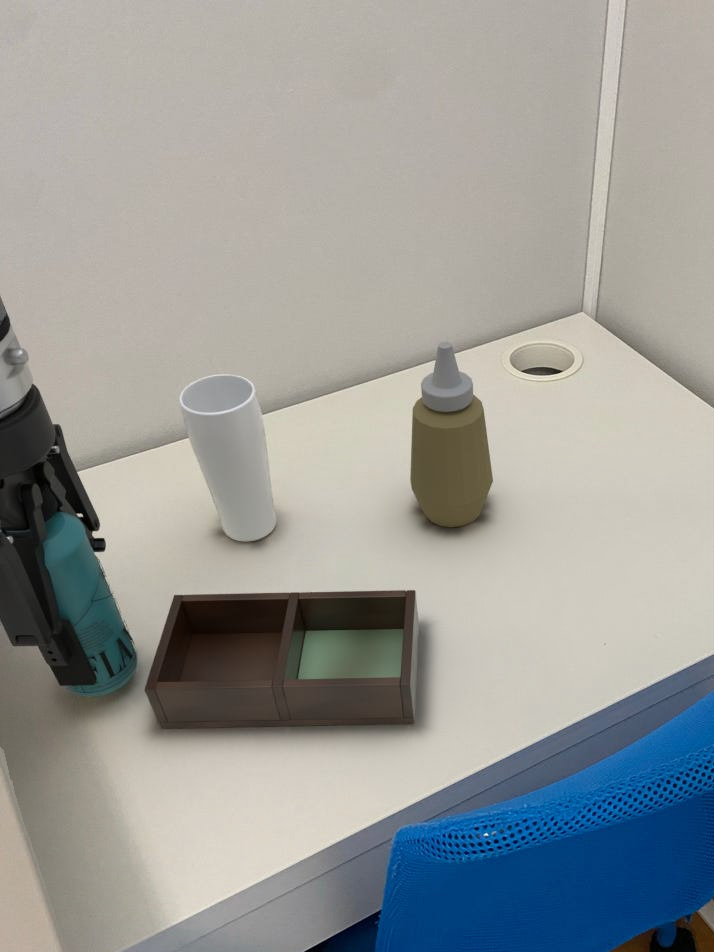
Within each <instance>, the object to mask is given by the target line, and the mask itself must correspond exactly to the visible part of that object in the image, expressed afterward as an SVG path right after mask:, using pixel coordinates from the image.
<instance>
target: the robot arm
mask: <svg viewBox="0 0 714 952" xmlns="http://www.w3.org/2000/svg"><path fill="white" fill-rule="evenodd" d="M29 358H30V357H29V353H28V352H27V350H26V349H25V348H22V347H21V345H20V342H19V339H18V337H17V334H16V332H15V330H14V328H13V325H12V323H11V319H10V316H9V313H8V312H7V310H6V306H5V304H4V302H3V299H2V297H1V295H0V623H1V625H2V627H3V629H4V631H5V633H6V636H7V638H8V640H9V642H10V644H11V646H12V647H37V648H38V651H39V652H40V654H41V656H42V658H43V659H44V662H45V663H46V664H47V665H48V666H49V667H50V670H51V672H52V673H53V676H54V677H55V679H56V682H57V683H58V685H59V686H60V687H66V686H78V685H95V682H96V679H97V677H96V675H95V673H94V671H93V669H92V666H91V664H90V662H89V660H88V658H87V656H86V654H85V652H84V650H83V647H82V645H81V643H80V641H79V639H78V637H77V635H76V633H75V630H74V628H73V626H72V624H71V622H70V620H61V616H60V612H59V608H58V604H57V600H56V596H55V592H54V588H53V584H52V580H51V576H50V573H49V571H48V569H47V568H46V566H45V552H44V548H43V542H45V541H46V540H47V538H48V536H47V531H46V527H45V523H44V519H43V515H42V511H41V505H42V503H43V501H42V496H41V492H40V488H39V486H38V485H37V482H38V481H39V482H44V483H46V484H47V486H48V487H49V489H50V491H51V493H52V494H53V495H54V497H55V499H56V501H57V505H58V507H57V510H56V511H59V512H63V513H68V514H70V515H73V516H74V517H76V518H77V519H79V520H80V521H81V523H82V524H83V526H84V528H85V533H86V536H87V538H88V540H89V543H90V545H93V546H91V547H92V549H93V551H94V553H104V552H105V551H106V548H107V543H106V539H105V537H94V535H93V532H98V531H100V527H101V523H100V519H99V517H98V514H97V512H96V510H95V508H94V505H93V504H92V501H91V499H90V497H89V494H88V492H87V491H86V488H85V486H84V484H83V481H82V480H81V477H80V474H79V473H78V471H77V468H76V467H75V464H74V462H73V460H72V458H71V456H70V454H69V451H68V448H67V445H66V444H67V443H66V440H65V437H64V432H63V428H62V426H61V425H60V424H59V423H53V420H52V419H51V416H50V413H49V411H48V409H47V405H46V403H45V401H44V399H43V395H42V393H41V392H40V389H39V387H37V385H35V384H34V383H33V382H34V379H33V374H32V371H31V369H30V367H29V364H28V362H29V360H30V359H29ZM80 514H81V515H82V516H79V515H80ZM29 529H30V531H31V532H7V531H26V530H29ZM97 561H98V560H97ZM98 562H99V561H98ZM100 564H101V563H99V565H100ZM100 568H101V570H102V566H101V565H100ZM102 571H103V570H102ZM102 573H103V572H102ZM105 580H106V582H107V584H108V585H109V583H108V581H107V578H105ZM108 587H109V589H110V588H111V587H110V585H109V586H108ZM110 592H111V594H112V593H113V592H112V590H111V589H110ZM112 595H113V594H112ZM113 599H114V601H115V604H116V605H117V602H116V599H115V597H113ZM118 611H119V612H120V610H119V609H118Z"/></svg>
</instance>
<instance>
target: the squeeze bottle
mask: <svg viewBox="0 0 714 952" xmlns="http://www.w3.org/2000/svg"><path fill="white" fill-rule="evenodd" d="M435 356H436V357H435V361H434V367H433V372H430V373H429V374H428V375H426V376H424V377H423V379H422V380H421V382H420V389H421V390H420V391H421V397H420V398H418V399H417V400H416V401H415V403H414V405H413V407H412V419H411V446H410V447H411V448H410V450H411V451H410V475H409V477H410V480H409V481H410V487H411V491H412V493H413V494H414V496H415V499H416V501H417V503H418V504H419V506H420V508H421V510H422V512H423V514H424V516H425V518H427V519H428V521H430V522H431V523H434V524H435V525H438V526H441V527H447V528H456V527H464V526H466V525H469V524H471V523H473V522H475V520H476V519H478V518H479V517H480V516H481V513H482V511H483V508H484V506H485V503H486V501H487V498H488V495H489V493H490V490H491V487H492V485H493V482H494V478H493V470H492V463H491V454H490V447H489V440H488V432H487V425H486V424H487V423H486V416H485V409H484V405H483V401H482V400H481V399H480V398H479V397H477V396H476V395H475V394H474V383H473V379H472V378H471V377H470V376H469V375H468V374H467V373H465V372H462V371H460V370H459V367H458V363H457V359H456V356H455V351H454V348H453V344H452V343H451V342H449V341H441V342H439V343H438V345H437V350H436V355H435Z"/></svg>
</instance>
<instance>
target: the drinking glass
mask: <svg viewBox="0 0 714 952" xmlns="http://www.w3.org/2000/svg"><path fill="white" fill-rule="evenodd" d="M178 403H179V407H180V411H181V416H182V420H183V424H184V428H185V432H186V434H187V438H188V440H189V443H190V446H191V448H192V451H193V454H194V457H195V459H196V461H197V463H198V466H199V469H200V471H201V474H202V477H203V479H204V481H205V484H206V486H207V489H208V492H209V494H210V497H211V499H212V502H213V504H214V508H215V510H216V512H217V515H218V517H219V518H218V519H219V522H220V525H221V528H222V531H223V532H224V534H225V535H226V536H227V537H228V538H230V539H232V540H234V541H238V542H254V541H258V540H260V539H263V538H265V537H266V536H268V535H270V534H271V533H272V532H273V530H274V529H275V527H276V525H277V520H278V518H277V512H276V508H275V502H274V495H273V488H272V486H273V485H272V480H271V470H270V462H269V461H270V460H269V453H268V445H267V438H266V430H265V423H264V418H263V413H262V409H261V405H260V401H259V398H258V394H257V391H256V386H255V385H254V383H253V382H252V381H251V380H249V379H248V378H246V377H243V376H241V375H237V374H230V373H221V374H220V373H219V374H213V375H212V374H211V375H208V376H203V377H201V378H199V379H196V380H194V381H192V382H190V383H189V384H187V385H186V386H185V387H184V388H183V389H182V390H181V392H180V394H179V397H178Z"/></svg>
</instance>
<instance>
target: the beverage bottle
mask: <svg viewBox="0 0 714 952" xmlns="http://www.w3.org/2000/svg"><path fill="white" fill-rule="evenodd" d="M37 485H38V486H39V488H40V492H41V496H42V501H43V503H42V505H41V511H42V515H43V519H44V523H45V527H46V531H47V536H48V538H47V540H46V541H45V542H43V548H44V552H45V566H46V568H47V569H48V571H49V573H50V576H51V580H52V584H53V588H54V592H55V596H56V600H57V604H58V608H59V612H60V616H61V620H70V622H71V624H72V626H73V628H74V630H75V633H76V635H77V637H78V639H79V641H80V643H81V645H82V647H83V650H84V652H85V654H86V656H87V658H88V660H89V662H90V664H91V666H92V669H93V671H94V673H95V675H96V677H97V679H96V682H95V685H78V686H65V688H66V689H67V690H69V691H70V692H72V693H73V694H76V695H78V696H82V697H101V696H105V695H107V694H110V693H113V692H115V691H117V690H119V689H121V688H122V687H124V685H126V684H127V683H128V682H129V681H130V680H131V678H132V677H133V676H134V675H135V673H136V670H137V667H138V658H139V657H138V653H139V652H138V650H137V647H136V645H135V642H134V639H133V637H132V636H131V633H130V630H129V627H128V625H127V623H126V620H125V618H124V617H123V618H122V614H121V613H122V611H121V608H120V607H119V603H118V602H116V600H115V596H114V591H113V590H112V588H111V587H110V586H111V584H110V582H109V581H107V579H106V578H107V575H106V572H105V569H104V567H103V565H102V563H101V560H100V558H98V557H99V556H98V554H96V552H94V551H93V549H92V547H91V546H93V545H90V543H89V540H88V538H87V536H86V533H85V528H84V526H83V524H82V523H81V521H80V520H79V519H77V518H76V517H74V516H73V515H70V514H68V513H63V512H59V511H56V510H57V507H58V505H57V501H56V499H55V497H54V495H53V494H52V493H51V491H50V489H49V487H48V486H47V484H46V483H44V482H39V481H38V482H37ZM7 532H31V531H30V529H29V530H26V531H7ZM97 560H98V561H97ZM99 564H100V565H99ZM100 567H101V568H100ZM101 569H102V570H101ZM102 572H103V573H102ZM105 579H106V580H105ZM106 581H107V582H106ZM107 583H108V584H107ZM108 586H109V587H108ZM109 588H110V589H109ZM110 591H111V592H110ZM111 593H112V594H111ZM113 598H114V599H113ZM114 600H115V601H114ZM115 603H116V604H115ZM118 610H119V611H118ZM134 646H135V647H134Z"/></svg>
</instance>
